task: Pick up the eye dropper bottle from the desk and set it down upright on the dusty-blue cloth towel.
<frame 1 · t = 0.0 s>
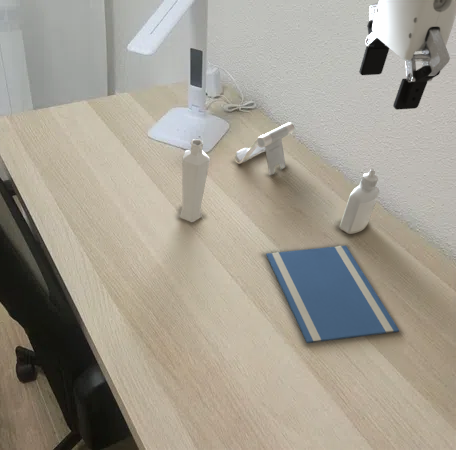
hand: (386, 90, 74), 29 cm above the table, tool pointing down, fingers open, 9 cm apart
perfume bottle: (190, 214, 98), on the table
eye dropper bottle: (353, 226, 97), on the table
tablet stand: (262, 163, 111), on the table
towel: (327, 290, 85), on the table
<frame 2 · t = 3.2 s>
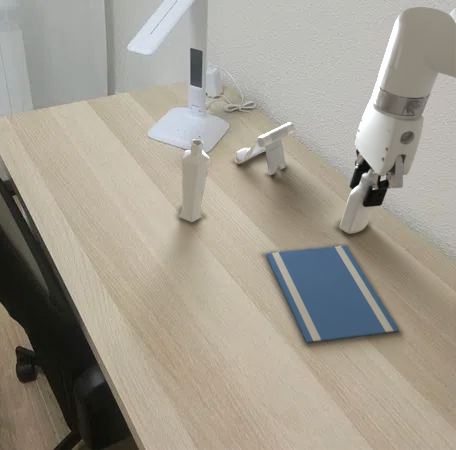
hand: (365, 195, 93), 7 cm above the table, tool pointing down, fingers closed on eye dropper bottle, 4 cm apart
eye dropper bottle: (353, 226, 97), on the table, touching gripper
everything else where it was.
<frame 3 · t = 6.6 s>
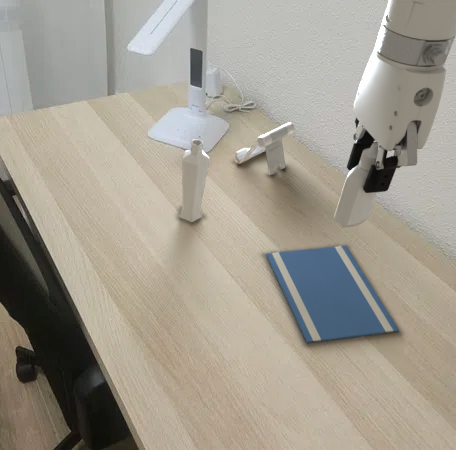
hand: (366, 178, 72), 21 cm above the table, tool pointing down, fingers closed on eye dropper bottle, 4 cm apart
eye dropper bottle: (350, 219, 76), point 14 cm above the table, touching gripper
everything else where it was.
when the fingers open (7 cm above the table, at t = 9.9 s): eye dropper bottle stays where it is, resting on towel.
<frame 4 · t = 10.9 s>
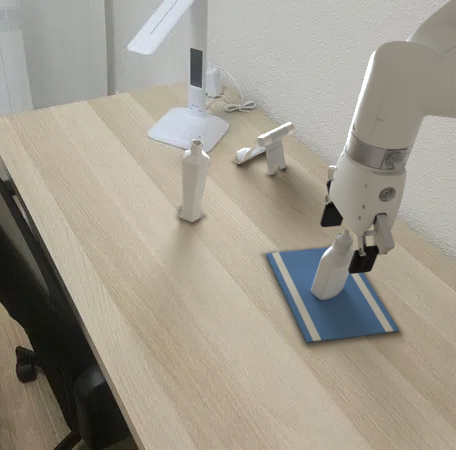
hand: (344, 247, 79), 9 cm above the table, tool pointing down, fingers open, 9 cm apart
eye dropper bottle: (326, 290, 85), resting on towel
everything else where it was.
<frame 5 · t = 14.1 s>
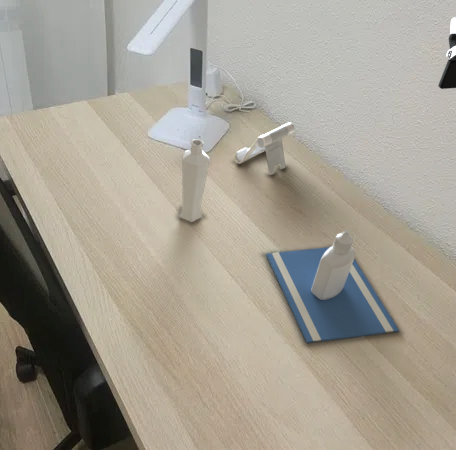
nothing on the table moved.
at the end: eye dropper bottle inside the target area on the towel (0.3 cm from its centre), point 0.2 cm above the towel's base; eye dropper bottle tilted 0°; the gripper is holding nothing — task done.
